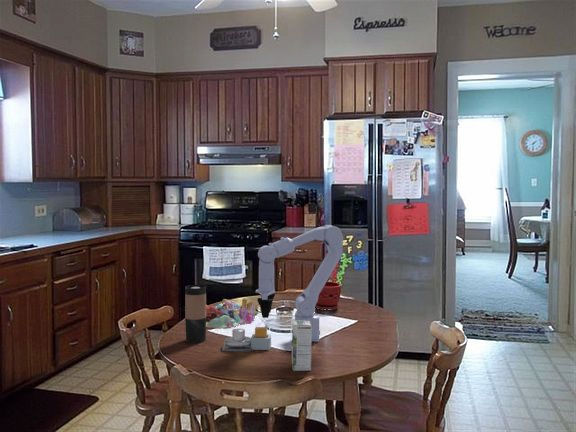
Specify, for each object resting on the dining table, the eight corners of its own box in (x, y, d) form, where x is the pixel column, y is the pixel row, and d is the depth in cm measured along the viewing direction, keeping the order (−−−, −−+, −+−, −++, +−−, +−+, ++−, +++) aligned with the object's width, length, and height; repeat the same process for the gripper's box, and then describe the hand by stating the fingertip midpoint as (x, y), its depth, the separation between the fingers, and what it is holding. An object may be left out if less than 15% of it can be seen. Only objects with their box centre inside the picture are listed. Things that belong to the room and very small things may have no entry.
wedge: (255, 346, 187) (255, 327, 186) (267, 346, 187) (267, 327, 186) (254, 348, 184) (254, 328, 184) (266, 348, 184) (266, 329, 184)
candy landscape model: (208, 313, 237) (208, 293, 236) (259, 315, 233) (259, 294, 233) (189, 328, 212) (189, 305, 211) (246, 330, 208) (246, 307, 208)
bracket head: (273, 339, 196) (273, 328, 196) (269, 349, 183) (269, 338, 183) (255, 338, 196) (255, 328, 196) (250, 349, 183) (250, 338, 183)
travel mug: (210, 338, 196) (209, 285, 195) (200, 344, 189) (199, 289, 188) (191, 336, 199) (191, 284, 198) (181, 342, 192) (181, 287, 190)
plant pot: (311, 311, 239) (311, 285, 239) (314, 305, 252) (314, 280, 252) (340, 312, 237) (340, 286, 237) (341, 306, 250) (341, 281, 250)
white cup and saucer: (254, 343, 191) (254, 326, 190) (250, 351, 181) (250, 334, 180) (227, 342, 191) (227, 326, 191) (222, 351, 181) (221, 333, 181)
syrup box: (291, 365, 167) (291, 320, 166) (309, 364, 168) (309, 319, 167) (292, 371, 162) (293, 325, 161) (311, 370, 162) (312, 324, 161)
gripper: (258, 275, 201) (258, 310, 201) (253, 281, 186) (253, 319, 187) (276, 275, 200) (276, 310, 201) (273, 282, 186) (272, 320, 186)
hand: (266, 315), depth 194 cm, fingers open, 7 cm apart
